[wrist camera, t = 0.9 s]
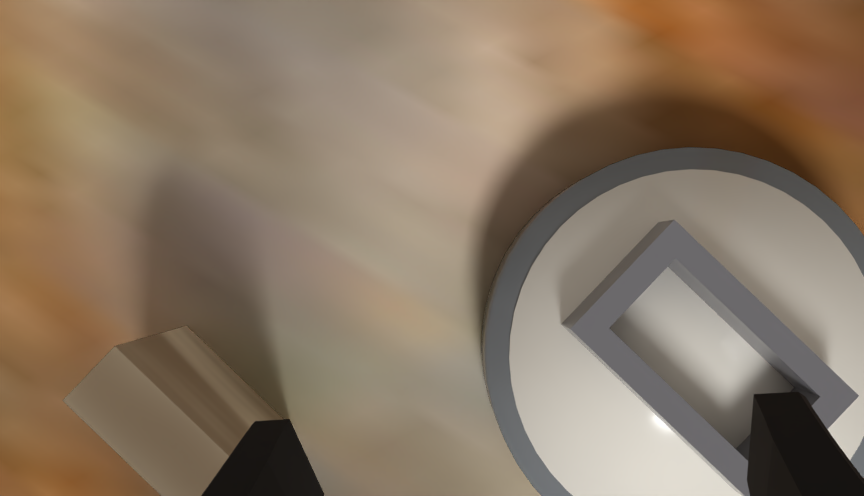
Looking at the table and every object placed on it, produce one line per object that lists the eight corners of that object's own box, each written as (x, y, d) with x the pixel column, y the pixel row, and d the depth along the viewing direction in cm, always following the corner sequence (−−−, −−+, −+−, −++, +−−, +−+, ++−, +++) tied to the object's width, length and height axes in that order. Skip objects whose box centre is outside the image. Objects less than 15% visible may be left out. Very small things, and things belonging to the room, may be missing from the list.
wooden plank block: (251, 468, 26) (197, 531, 20) (146, 367, 26) (62, 400, 20) (291, 426, 26) (250, 476, 20) (186, 325, 26) (114, 346, 20)
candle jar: (677, 615, 26) (722, 681, 22) (403, 351, 26) (398, 369, 22) (937, 340, 26) (1030, 355, 22) (663, 79, 27) (706, 46, 22)
